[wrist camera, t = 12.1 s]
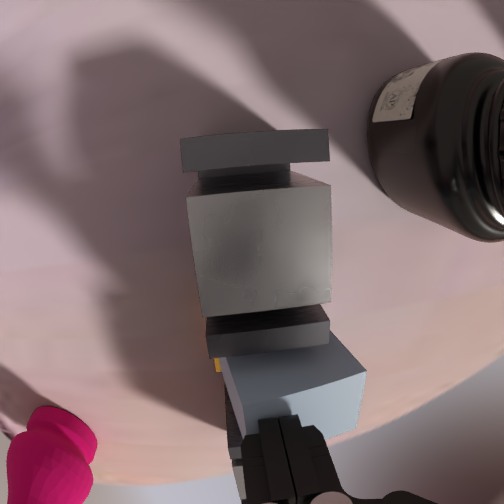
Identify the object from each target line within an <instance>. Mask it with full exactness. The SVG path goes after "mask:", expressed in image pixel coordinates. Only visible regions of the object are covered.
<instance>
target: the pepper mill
mask: <svg viewBox="0 0 504 504" xmlns="http://www.w3.org/2000/svg"><path fill="white" fill-rule="evenodd" d="M96 448H97V440H96V437H95V435H94V433H93V432H92V431H91V429H90V428H89V427H88V426H87V425H86V424H85V423H84V422H83V421H81V420H80V419H78V418H77V417H76V416H74V415H72V414H70V413H68V412H67V411H64V410H62V409H59V408H55V407H50V406H43V407H39V408H37V409H36V410H35V411H34V412H33V414H32V416H31V418H30V420H29V422H28V423H27V431H26V432H22V433H20V434H17V435H16V436H15V437H14V438H13V439H12V441H11V444H10V447H9V450H8V453H7V479H8V502H7V504H82V503H83V502H84V501H85V499H86V498H87V497H88V495H89V492H90V490H91V487H92V484H93V475H92V471H91V469H90V466H89V465H88V464H90V463H91V462H92V461H93V458H94V455H95V452H96Z"/></svg>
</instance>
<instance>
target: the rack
mask: <svg viewBox="0 0 504 504" xmlns="http://www.w3.org/2000/svg"><path fill="white" fill-rule="evenodd" d="M180 146H181V156H182V166H183V172H191V171H198V177H199V179H198V180H197V182H196V183H195V185H194V186H193V188H192V189H191V191H190V192H189V194H188V195H187V197H186V203H187V212H188V220H189V228H190V235H191V243H192V250H193V258H194V265H195V272H196V278H197V285H198V292H199V298H200V304H201V311H202V317H207V321H206V340H207V346H208V352H209V357H210V359H211V358H214V362H215V368H216V372H222V371H221V367H220V363H219V358H222V357H232V356H242V355H251V354H259V353H267V352H275V351H283V350H290V349H297V348H304V347H310V346H316V345H322V344H328V343H329V334H330V320H329V318H328V316H327V315H326V313H325V311H324V310H323V308H322V306H321V305H320V304H321V303H328V302H331V272H332V217H331V185H329V184H326V183H323V182H321V181H318V180H315V179H312V178H310V177H307V176H304V175H301V174H298V173H296V172H293V171H290V163H299V162H321V161H330V155H329V137H328V129H300V130H275V131H257V132H243V133H231V134H220V135H210V136H200V137H192V138H183V139H180ZM224 382H225V381H224ZM225 403H226V422H227V440H228V450H229V455H230V459H232V467H233V472H234V476H235V480H236V484H237V488H238V492H239V496H240V499H241V502H242V504H247V501H246V492H245V484H244V475H243V465H242V456H241V444H242V441H243V437H242V434H241V431H240V428H239V425H238V422H237V419H236V416H235V413H234V410H233V407H232V403H231V400H230V397H229V394H228V391H227V387H226V384H225Z"/></svg>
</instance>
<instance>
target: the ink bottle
mask: <svg viewBox="0 0 504 504" xmlns="http://www.w3.org/2000/svg"><path fill="white" fill-rule="evenodd" d="M367 144H368V151H369V156H370V160H371V164H372V167H373V170H374V172H375V175H376V177H377V179H378V181H379V183H380V185H381V186H382V188H383V189H384V191H385V192H386V193H387V195H388V196H389V197H390V198H391V199H392V200H393V201H394V202H395V203H396V204H397V205H399V206H400V207H402V208H403V209H405V210H407V211H409V212H411V213H414V214H416V215H418V216H421V217H423V218H425V219H428V220H430V221H432V222H435V223H437V224H439V225H442V226H444V227H446V228H448V229H451V230H453V231H455V232H457V233H459V234H462V235H464V236H466V237H468V238H471V239H474V240H477V241H481V242H488V243H493V242H500V241H504V60H503V59H501V58H499V57H496V56H494V55H491V54H487V53H476V52H475V53H466V54H461V55H457V56H453V57H449V58H446V59H442V60H438V61H435V62H432V63H428V64H425V65H422V66H418V67H415V68H412V69H409V70H406V71H403V72H401V73H399V74H397V75H395V76H393V77H392V78H390V79H389V80H388V81H386V82H385V83H384V84H383V85H382V86H381V88H380V89H379V90H378V92H377V93H376V95H375V97H374V99H373V101H372V104H371V107H370V110H369V115H368V122H367Z"/></svg>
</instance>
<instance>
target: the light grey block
mask: <svg viewBox="0 0 504 504" xmlns="http://www.w3.org/2000/svg"><path fill="white" fill-rule="evenodd" d="M219 363H220V367H221V371H222V374H223V377H224V381H225V384H226V387H227V391H228V394H229V397H230V400H231V403H232V407H233V410H234V413H235V416H236V419H237V422H238V425H239V428H240V431H241V434H242V437H243V439H244V437H245V435H250V434H259V430H258V420H261V419H269V418H276V417H277V419H278V417H282V416H288V415H295V414H298V416H299V419H300V422H301V425H302V427H304V426H310V425H314V426H315V427H316V428H317V429H318V430H319V431H320V432H321V433H322V434H323V436H324V439H325V440H326V439H329V438H332V437H335V436H338V435H341V434H343V433H346V432H349V431H351V430H354V429H356V427H357V422H358V417H359V413H360V407H361V402H362V397H363V391H364V386H365V380H366V374H367V370H366V369H365V368H364V367H363V366H362V365H361V364H360V363H359V361H358V360H357V359H356V358H355V357H354V356H353V355H352V354H351V353H350V352H349V350H348V349H347V348H346V347H345V346H344V345H343V344H342V343H341V342H340V341H339V340H338V338H337V337H336V336H335V335H334V334H333V333H332V332H331V331H330V334H329V343H328V344H322V345H316V346H310V347H304V348H297V349H290V350H283V351H275V352H267V353H259V354H251V355H242V356H232V357H222V358H219Z"/></svg>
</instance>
